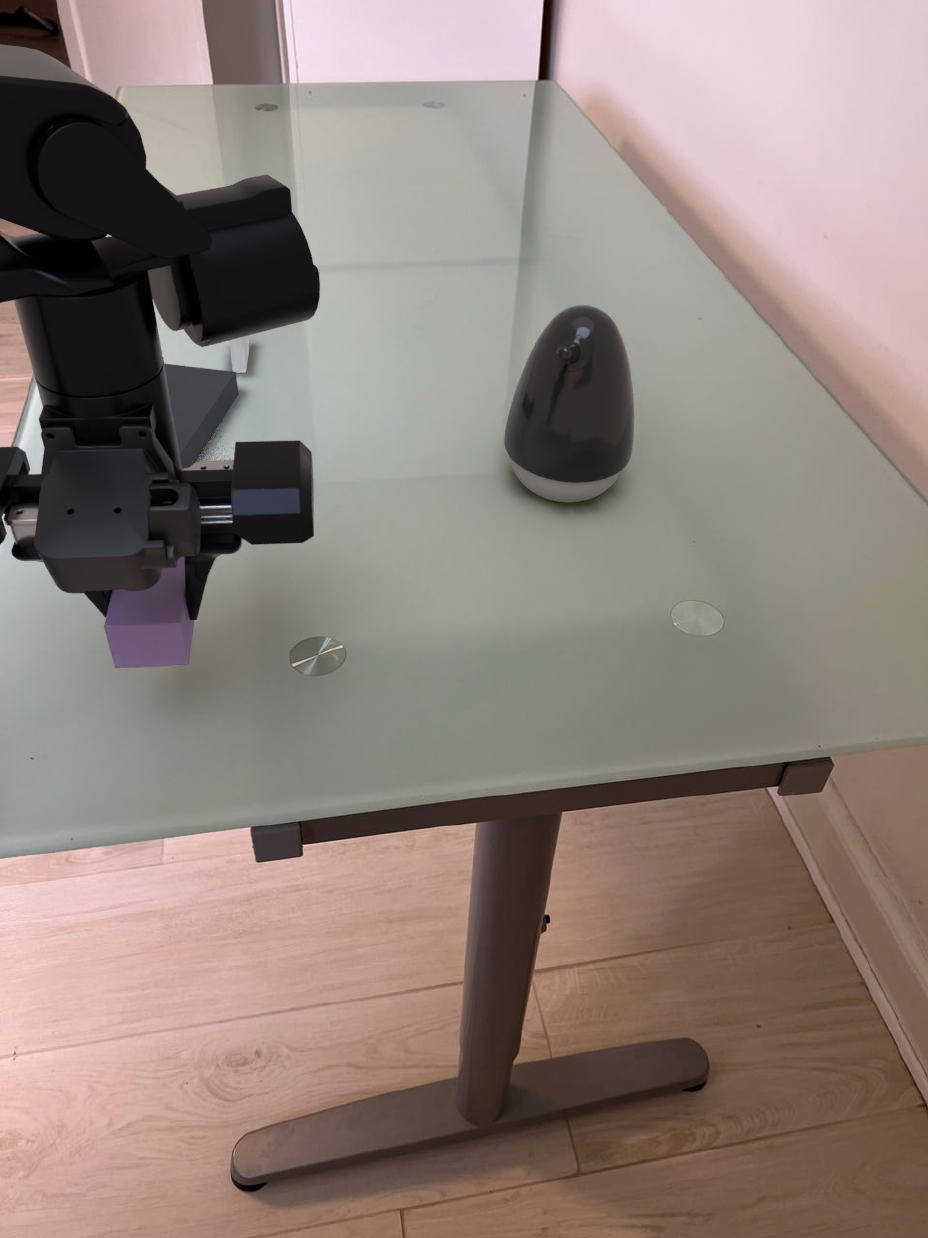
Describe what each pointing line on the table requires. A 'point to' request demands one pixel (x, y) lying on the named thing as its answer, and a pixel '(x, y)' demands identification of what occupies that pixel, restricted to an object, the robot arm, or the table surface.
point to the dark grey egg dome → (573, 408)
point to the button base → (198, 405)
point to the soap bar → (151, 623)
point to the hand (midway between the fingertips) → (154, 617)
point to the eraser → (239, 354)
